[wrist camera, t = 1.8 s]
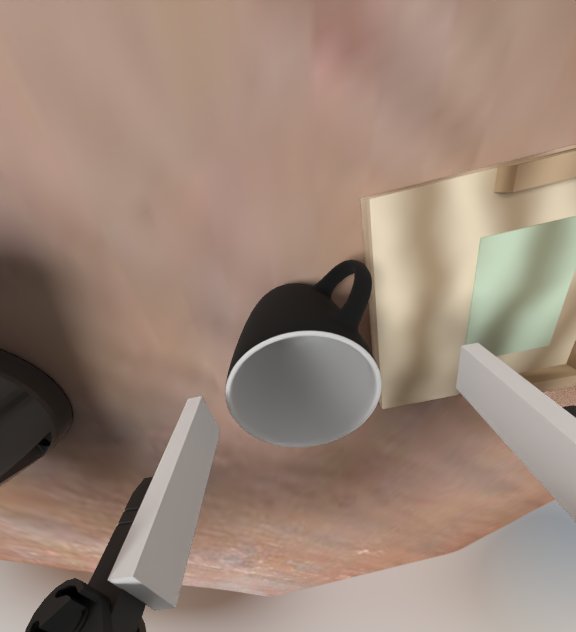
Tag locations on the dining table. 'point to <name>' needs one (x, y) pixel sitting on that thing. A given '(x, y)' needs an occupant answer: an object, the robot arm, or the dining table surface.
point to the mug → (305, 364)
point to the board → (474, 275)
